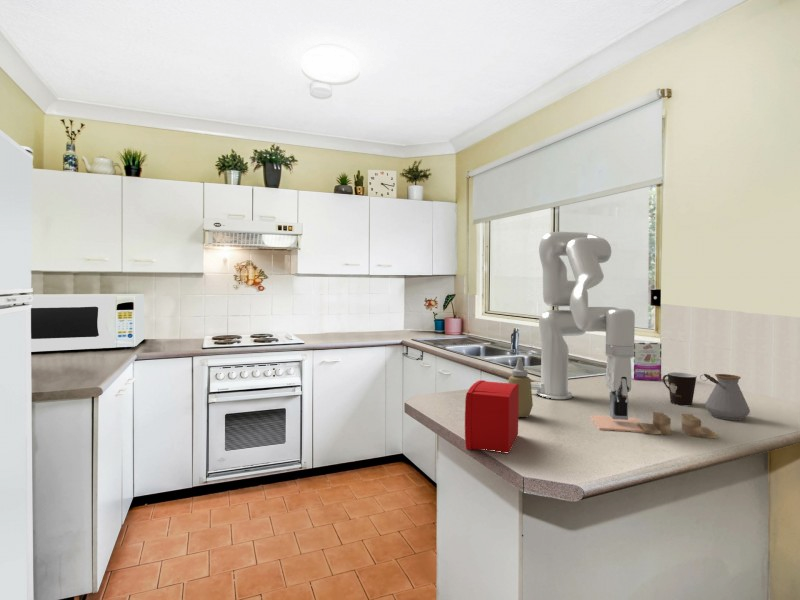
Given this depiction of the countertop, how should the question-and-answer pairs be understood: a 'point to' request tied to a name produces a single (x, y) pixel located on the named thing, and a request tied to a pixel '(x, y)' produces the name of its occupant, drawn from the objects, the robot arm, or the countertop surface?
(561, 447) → the countertop surface
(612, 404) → the metal block
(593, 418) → the terracotta tile
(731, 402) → the coffee pot
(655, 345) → the candy bar box
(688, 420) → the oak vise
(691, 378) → the coffee mug
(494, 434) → the red rounded box
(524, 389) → the squeeze bottle
